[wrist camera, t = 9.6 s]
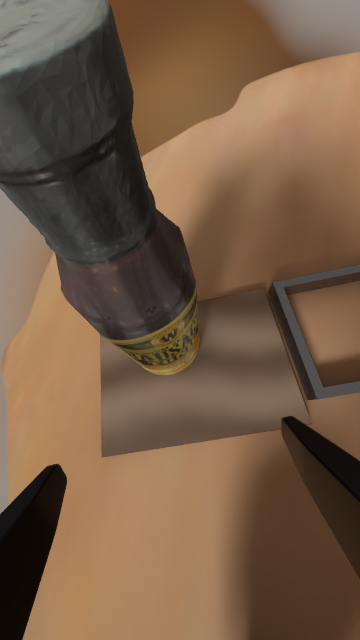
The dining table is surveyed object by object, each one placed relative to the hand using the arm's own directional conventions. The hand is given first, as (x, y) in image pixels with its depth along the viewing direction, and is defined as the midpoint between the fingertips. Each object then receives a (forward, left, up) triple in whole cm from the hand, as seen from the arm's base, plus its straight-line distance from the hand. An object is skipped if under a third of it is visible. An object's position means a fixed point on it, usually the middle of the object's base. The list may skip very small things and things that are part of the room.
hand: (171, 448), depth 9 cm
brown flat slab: (+5, -1, -12) cm, 13 cm away
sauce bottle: (+8, +1, -11) cm, 14 cm away
